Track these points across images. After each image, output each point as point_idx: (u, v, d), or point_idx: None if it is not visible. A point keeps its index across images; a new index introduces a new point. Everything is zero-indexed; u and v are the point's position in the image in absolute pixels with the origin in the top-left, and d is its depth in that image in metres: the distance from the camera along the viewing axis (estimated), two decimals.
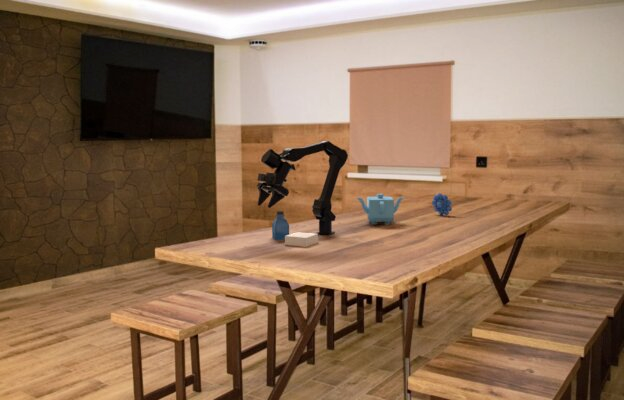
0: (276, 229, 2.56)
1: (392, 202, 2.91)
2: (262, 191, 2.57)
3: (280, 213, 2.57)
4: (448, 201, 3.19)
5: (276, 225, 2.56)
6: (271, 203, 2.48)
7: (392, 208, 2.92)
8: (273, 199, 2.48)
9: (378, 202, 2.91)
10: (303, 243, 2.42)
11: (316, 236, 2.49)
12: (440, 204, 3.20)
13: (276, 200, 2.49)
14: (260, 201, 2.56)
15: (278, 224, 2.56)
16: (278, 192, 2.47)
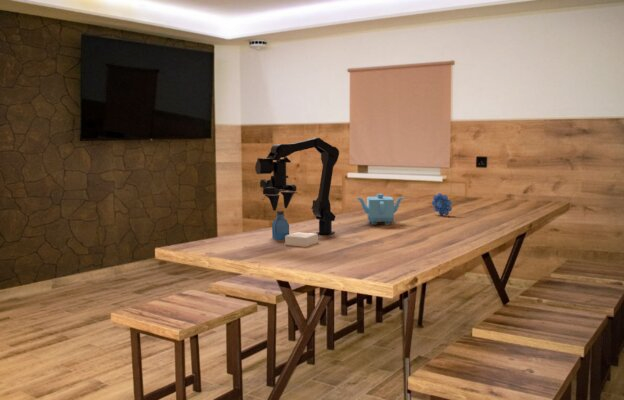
0: (276, 229, 2.56)
1: (392, 202, 2.91)
2: (283, 194, 2.63)
3: (280, 213, 2.57)
4: (448, 201, 3.19)
5: (276, 225, 2.56)
6: (273, 205, 2.54)
7: (392, 208, 2.92)
8: (272, 202, 2.53)
9: (378, 202, 2.91)
10: (303, 243, 2.42)
11: (316, 236, 2.49)
12: (440, 204, 3.20)
13: (274, 201, 2.52)
14: (285, 203, 2.62)
15: (278, 224, 2.56)
16: None
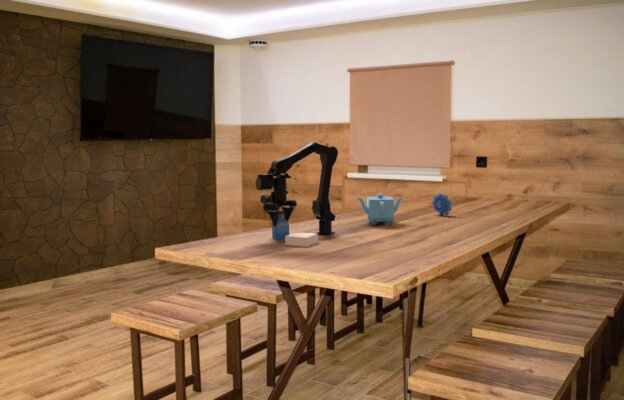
0: (276, 229, 2.56)
1: (392, 202, 2.91)
2: (284, 209, 2.64)
3: (280, 213, 2.57)
4: (448, 201, 3.19)
5: (276, 225, 2.56)
6: (273, 221, 2.55)
7: (392, 208, 2.92)
8: (272, 217, 2.54)
9: (378, 202, 2.91)
10: (303, 243, 2.42)
11: (316, 236, 2.49)
12: (440, 204, 3.20)
13: (275, 217, 2.53)
14: None
15: (278, 224, 2.56)
16: None
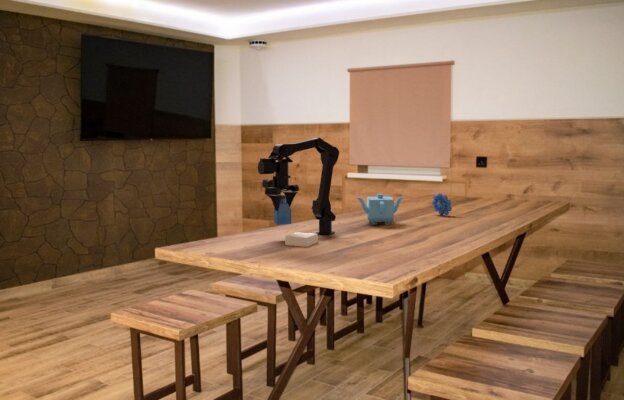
0: (278, 213, 2.54)
1: (392, 202, 2.91)
2: (286, 194, 2.61)
3: (282, 197, 2.55)
4: (448, 201, 3.19)
5: (278, 209, 2.54)
6: (275, 206, 2.53)
7: (392, 208, 2.92)
8: (274, 202, 2.52)
9: (378, 202, 2.91)
10: (304, 243, 2.42)
11: (316, 236, 2.49)
12: (440, 204, 3.20)
13: (276, 201, 2.51)
14: None
15: (280, 209, 2.54)
16: (270, 195, 2.50)
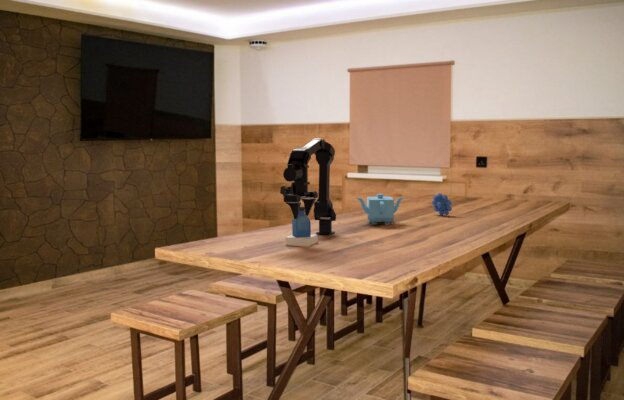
0: (297, 226, 2.43)
1: (392, 202, 2.91)
2: (304, 201, 2.51)
3: (301, 209, 2.45)
4: (448, 201, 3.19)
5: (297, 222, 2.43)
6: (294, 213, 2.42)
7: (392, 208, 2.92)
8: (293, 209, 2.42)
9: (378, 202, 2.91)
10: (304, 244, 2.42)
11: (316, 237, 2.49)
12: (440, 204, 3.20)
13: (296, 209, 2.41)
14: (306, 211, 2.51)
15: (299, 221, 2.44)
16: (289, 202, 2.40)
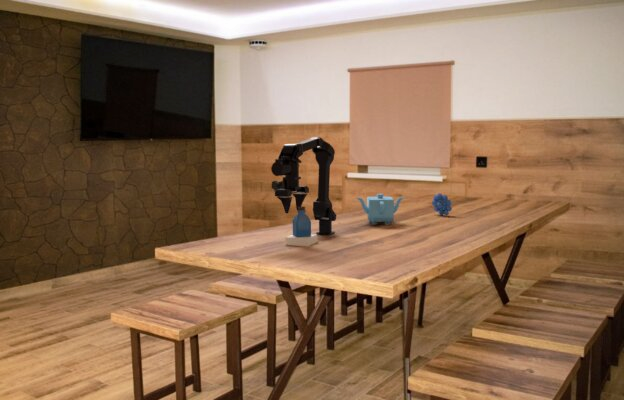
0: (297, 226, 2.44)
1: (392, 202, 2.91)
2: (295, 195, 2.53)
3: (301, 209, 2.45)
4: (448, 201, 3.19)
5: (297, 221, 2.44)
6: (285, 208, 2.44)
7: (392, 208, 2.92)
8: (284, 204, 2.43)
9: (378, 202, 2.91)
10: (304, 243, 2.42)
11: (316, 236, 2.50)
12: (440, 204, 3.20)
13: (287, 203, 2.42)
14: (297, 206, 2.52)
15: (300, 221, 2.44)
16: None
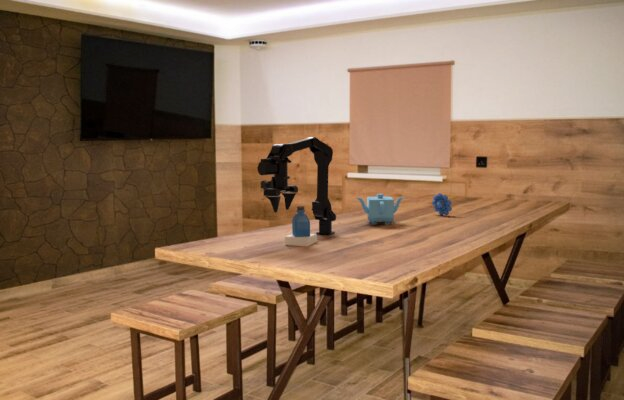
0: (296, 225, 2.44)
1: (392, 202, 2.91)
2: (285, 195, 2.55)
3: (300, 209, 2.45)
4: (448, 201, 3.19)
5: (296, 221, 2.44)
6: (274, 207, 2.46)
7: (392, 208, 2.92)
8: (273, 203, 2.46)
9: (378, 202, 2.91)
10: (304, 243, 2.42)
11: (315, 236, 2.50)
12: (440, 204, 3.20)
13: (275, 203, 2.45)
14: (286, 205, 2.55)
15: (299, 221, 2.44)
16: (269, 196, 2.44)
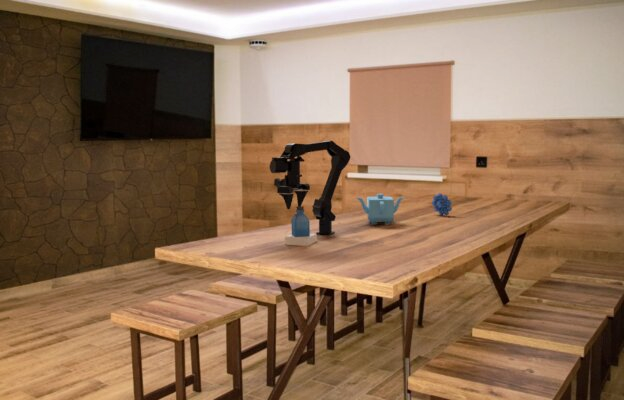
0: (296, 225, 2.44)
1: (392, 202, 2.91)
2: (297, 192, 2.65)
3: (300, 209, 2.46)
4: (448, 201, 3.19)
5: (296, 221, 2.44)
6: (287, 204, 2.56)
7: (392, 208, 2.92)
8: (286, 200, 2.56)
9: (378, 202, 2.91)
10: (304, 243, 2.43)
11: (315, 236, 2.51)
12: (440, 204, 3.20)
13: (288, 200, 2.55)
14: (298, 202, 2.65)
15: (298, 221, 2.44)
16: (282, 193, 2.54)
